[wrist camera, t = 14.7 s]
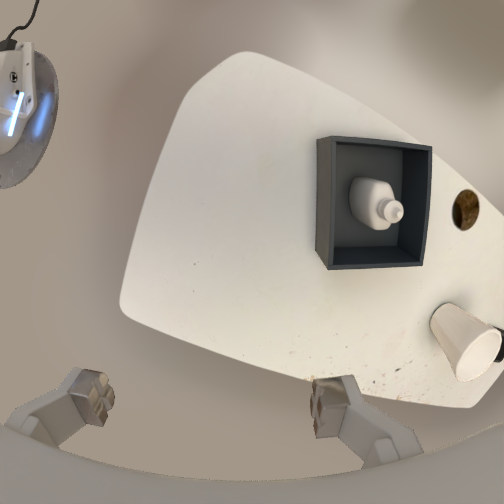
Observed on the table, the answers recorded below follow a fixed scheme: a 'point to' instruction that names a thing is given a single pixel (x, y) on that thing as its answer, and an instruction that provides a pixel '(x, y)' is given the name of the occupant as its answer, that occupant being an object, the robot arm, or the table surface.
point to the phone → (503, 348)
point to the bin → (356, 232)
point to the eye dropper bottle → (374, 203)
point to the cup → (465, 341)
